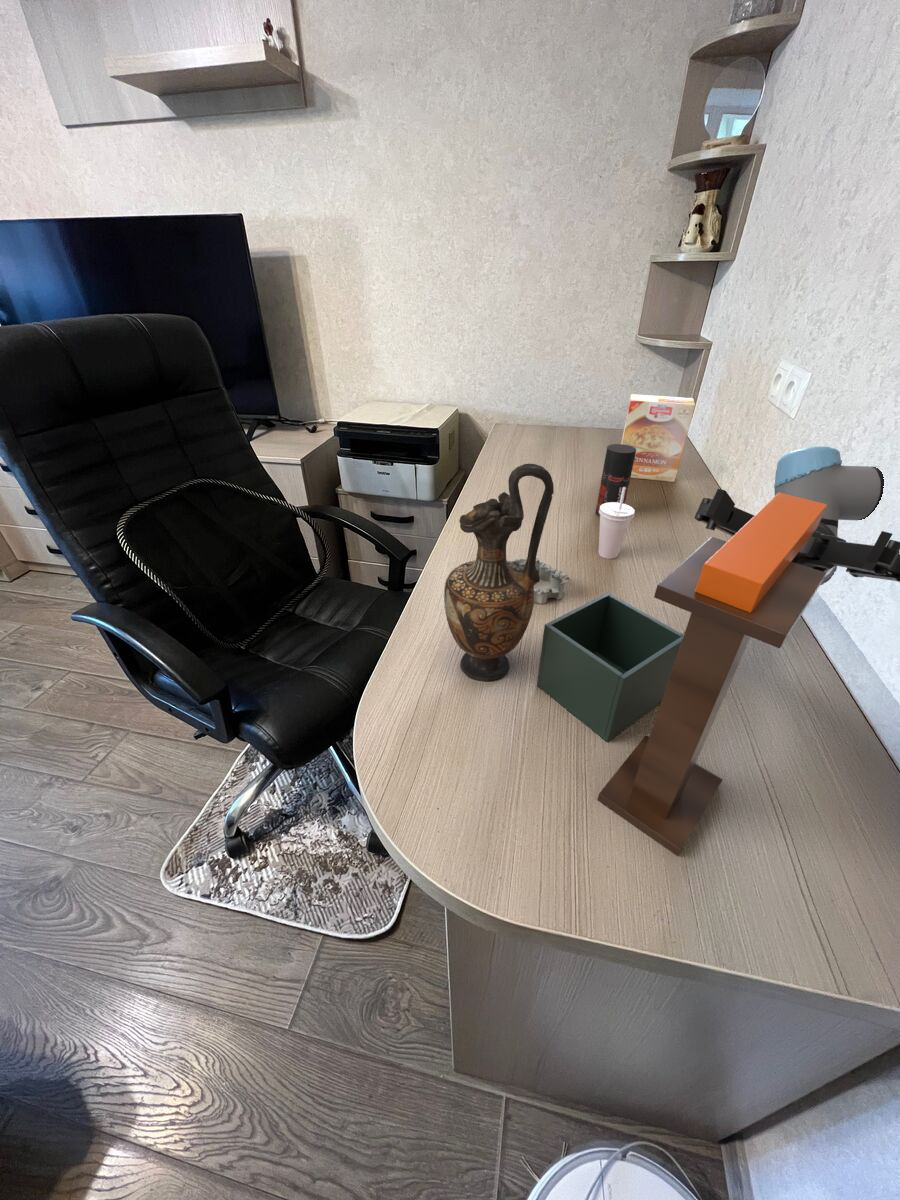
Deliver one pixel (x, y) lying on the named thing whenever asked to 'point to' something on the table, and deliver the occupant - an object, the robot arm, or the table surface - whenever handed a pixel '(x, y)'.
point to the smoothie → (613, 526)
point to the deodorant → (616, 473)
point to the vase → (495, 581)
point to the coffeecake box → (657, 434)
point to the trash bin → (607, 663)
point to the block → (760, 552)
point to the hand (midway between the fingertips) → (790, 522)
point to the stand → (698, 697)
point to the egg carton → (546, 581)
